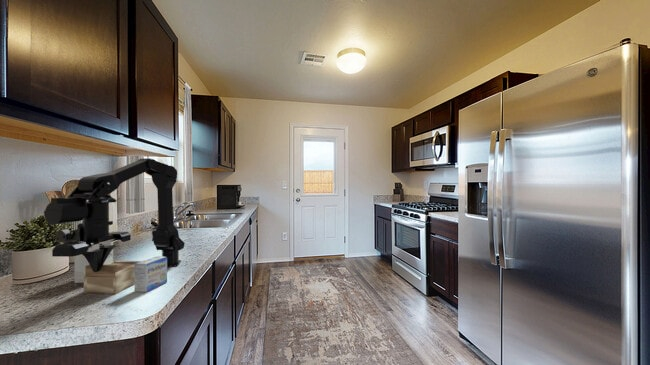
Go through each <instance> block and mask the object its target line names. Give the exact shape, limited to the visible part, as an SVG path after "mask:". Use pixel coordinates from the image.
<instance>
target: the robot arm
mask: <svg viewBox="0 0 650 365" xmlns="http://www.w3.org/2000/svg"><path fill="white" fill-rule="evenodd" d="M144 173H145V174H146V175H148V176H151V180H152V183H153V185H154V186H155V187H156V191H157V216H158V219H157V220H158V222H157V223H158V226H157V227H156V228H155V230H152V231H151V234H152V238H151V241H152V242H153V245H154V246H155V249H156V251H161V256H163V257H167V268H169V267H177V266H179V265H180V264H181V262H182V260H181V259H179V257H180V254H179V253H180V252H179V251H182V250H183V249H184V248H185V245H186V244H185V242H184V240H182V239H181V238H180V235H179V230H178V228H177V227H176V225H175V223H174V204H173V203H174V202H173V201H174V199H173V196H174V195H173V188H174V187H175V185H176V183H177V181H178V170H177V169H176V167H174V166H173V165H169V164H166V163H164V162H160V161H157V160H155V159H154V158H149V157H148V158H140V159H137V160H136V161H133V162H131V163H128V164H126V165H124V166H122V167H119V168H118V167H117V169H113V170H111V171H109V172H105V173H104V172H103V173H96V174H92V175H87V176H86V175H85V176H82V177H81V178H80V179H79V180H78V183H77V186H76V187H75V188H74V189H73V190H72V191H71V193H70V194H69V195H68V196H67V197H51V198H50V203H49V204H47V205H46V207H45V210H43V216H44V219H45V221H46V222H47V223H48V224H49V225H53V226H54V225H62V224H69V223H77V222H79V223H78V224H77V227H76V229H74V230H70V229H68V228H66V229H61V230H57V231H56V235H55V239H56V241H57V243H60V244H56V245H54V247H52V253H51V257H57V258H58V257H60V258H61V257H63V258H65V257H66V258H67V257H68V258H69V257H71V258H72V257H75V256H77V255H81V254H82V255H83V256H84V257H85V258H86V259H87V261H88V263H89V265H90V267H91V268H92V270H93V272H99V271H100V269H101V267H102V266H103V264H104V262H105V260H106V259H107V257H108V255H109V254H110V252H111V251H112V249H113V250H114V249H115V248H116V247H117V246H116V245H115V244H113V245H111V242H112V241H113V242H116V241H121V242H122V243H126V242H128V241H131V233H130V232H129V231H111V232H110V226H111V225H114V221H113V220H110V204H111V203H116V202H118V200H117V199H116V198H114V197H113V196H112V195H111V193H113V192H114V191H116V190H117V189H119V187H120V185H121V184H123V183H124V182H127V181H129V180H132V179H133V178H135V177H138V176H140V175H141V174H144ZM81 221H82V223H81ZM92 243H93V244H92Z"/></svg>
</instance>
